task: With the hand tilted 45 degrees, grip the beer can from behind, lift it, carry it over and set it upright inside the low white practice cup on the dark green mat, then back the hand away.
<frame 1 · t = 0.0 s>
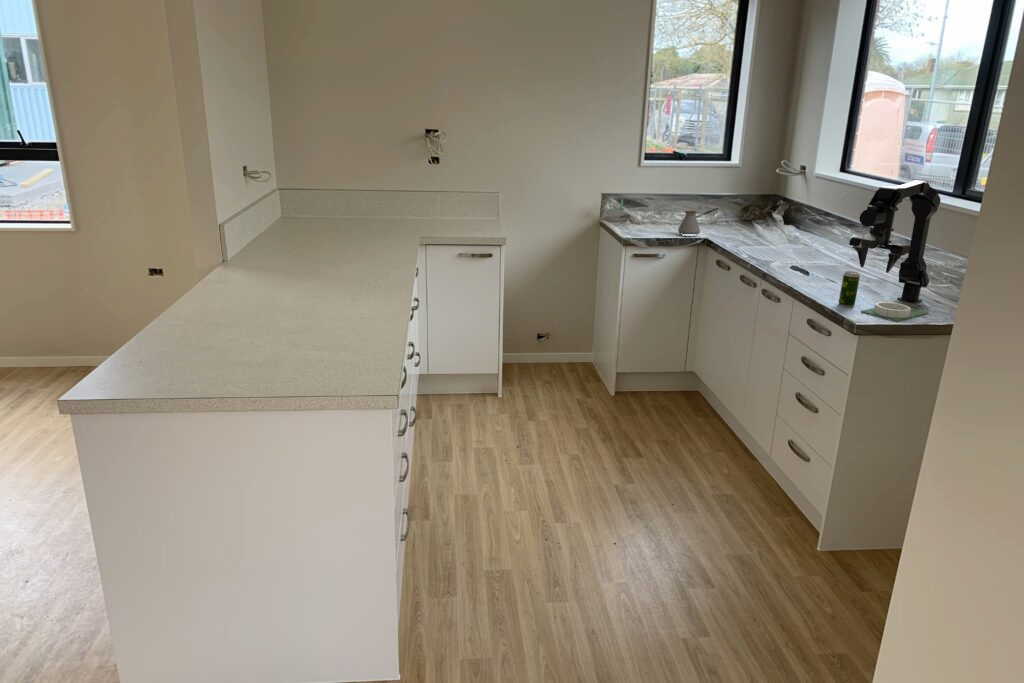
hand: (874, 269, 250), 15 cm above the countertop, tool pointing down, fingers open, 9 cm apart
coffee pot: (697, 236, 388), on the countertop
practice cup: (891, 314, 251), resting on putting mat
beer can: (846, 305, 261), on the countertop
putting mat: (894, 313, 253), on the countertop
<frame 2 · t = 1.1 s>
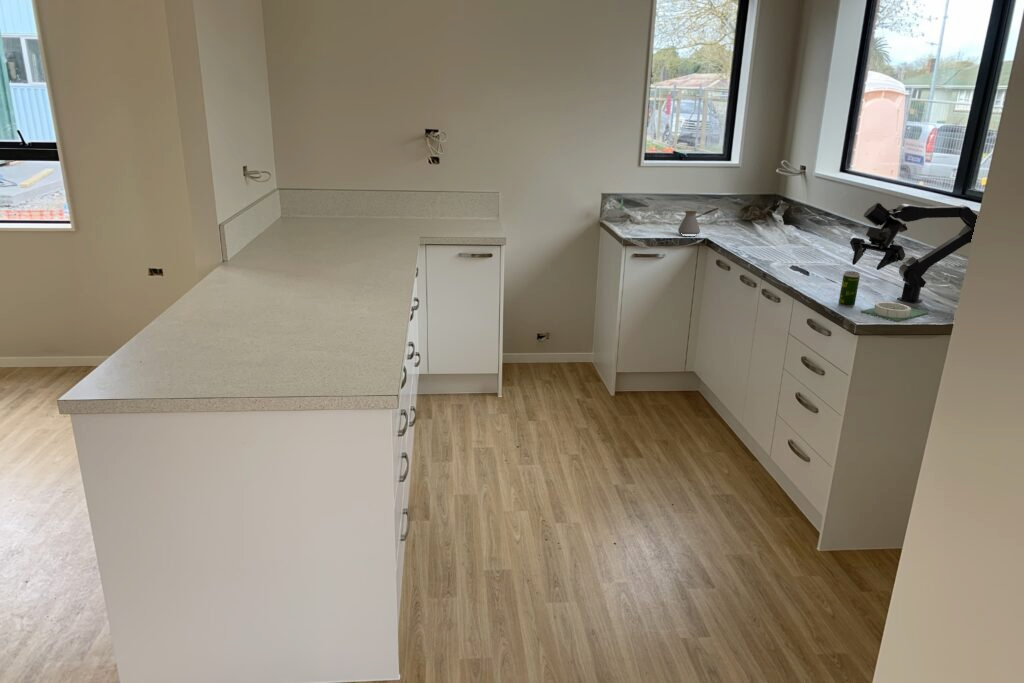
hand: (864, 266, 261), 13 cm above the countertop, tool tilted 45°, fingers open, 9 cm apart
nothing on the countertop moved.
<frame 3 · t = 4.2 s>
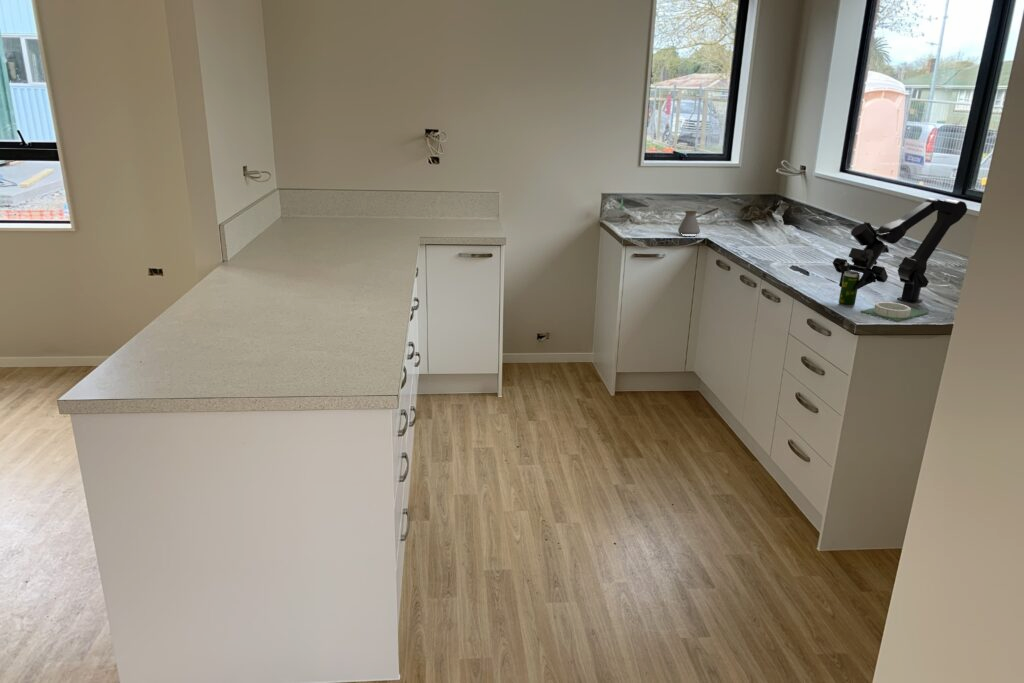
hand: (847, 287, 258), 7 cm above the countertop, tool tilted 45°, fingers closed on beer can, 5 cm apart
beer can: (846, 305, 261), on the countertop, touching gripper
everything else where it was.
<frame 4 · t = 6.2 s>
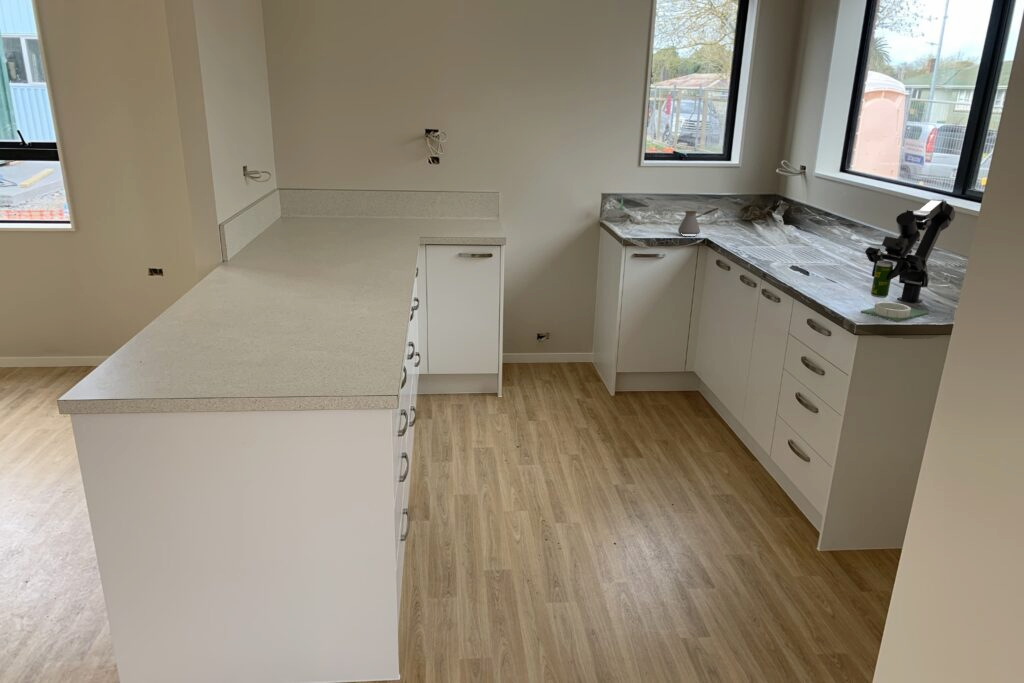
hand: (880, 277, 250), 12 cm above the countertop, tool tilted 45°, fingers closed on beer can, 5 cm apart
beer can: (878, 296, 253), point 5 cm above the countertop, touching gripper
everything else where it was.
when the fingers open (8 cm above the countertop, at t = 8.3 s): beer can drops 1 cm, resting on putting mat.
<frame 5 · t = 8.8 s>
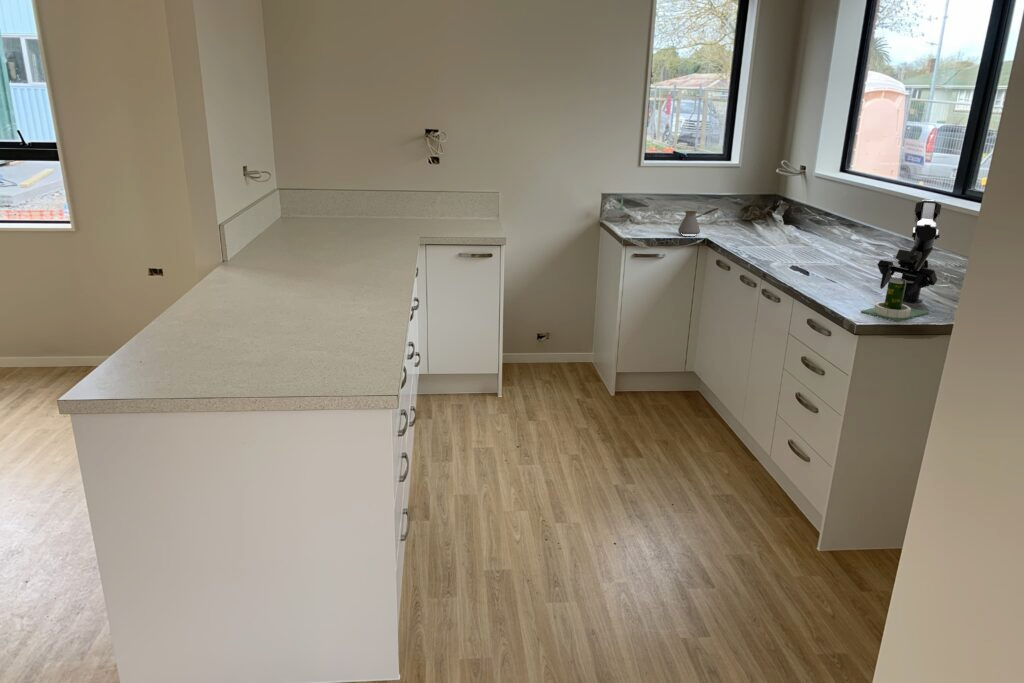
hand: (893, 291, 248), 9 cm above the countertop, tool tilted 45°, fingers open, 9 cm apart
beer can: (891, 313, 251), resting on putting mat
everything else where it was.
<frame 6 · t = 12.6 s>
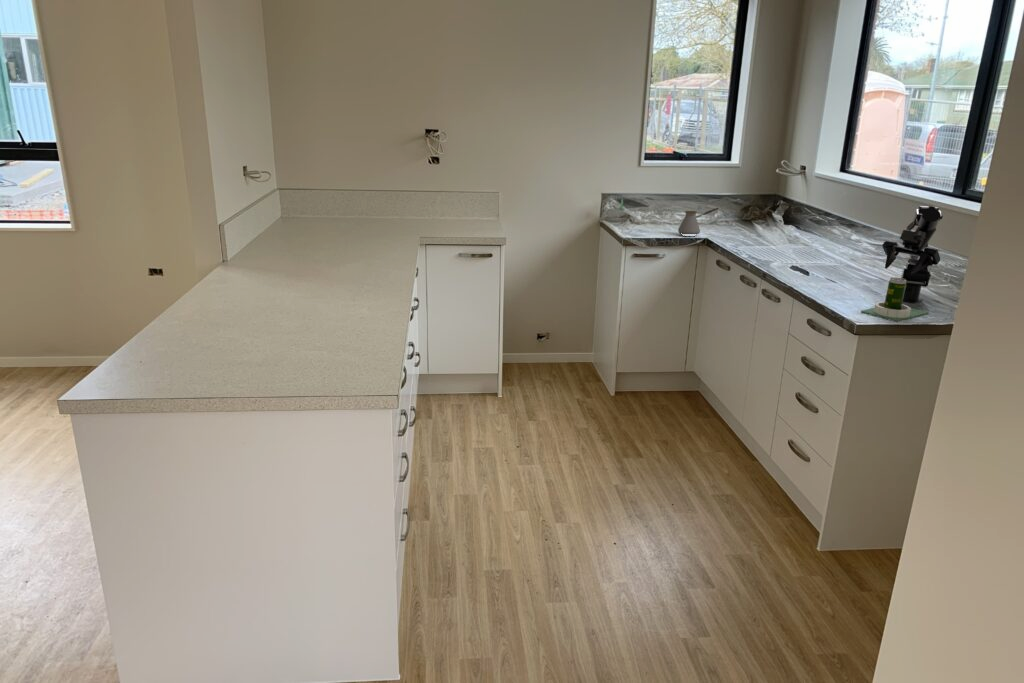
hand: (898, 270, 255), 14 cm above the countertop, tool tilted 45°, fingers open, 9 cm apart
nothing on the countertop moved.
at the end: beer can 0.2 cm off-centre on the practice cup, point 0.3 cm above the practice cup's base; beer can tilted 0°; the gripper is holding nothing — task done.
